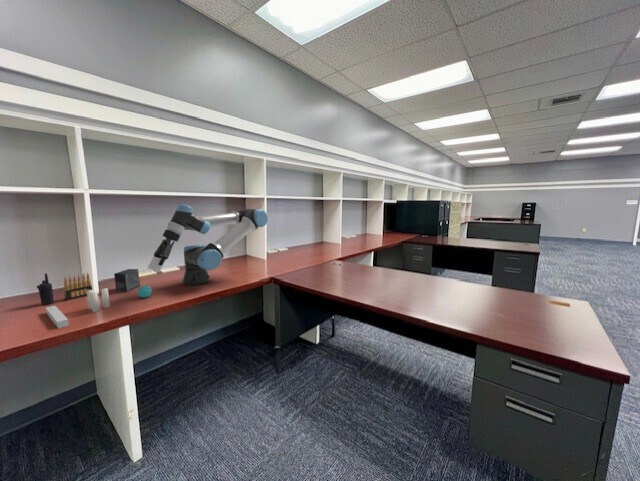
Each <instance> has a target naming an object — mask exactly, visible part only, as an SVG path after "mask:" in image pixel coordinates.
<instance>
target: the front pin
mask: <svg viewBox="0 0 640 481" xmlns="http://www.w3.org/2000/svg"><path fill="white" fill-rule="evenodd" d="M100 292H101V302H102V308H103V309H105V308H109V307H111V306H110V296H109V288H106V287H105V288H102V289H100Z"/></svg>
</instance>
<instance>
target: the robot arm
mask: <svg viewBox="0 0 640 481" xmlns="http://www.w3.org/2000/svg"><path fill="white" fill-rule="evenodd" d="M194 210H195V209H194V208H193V207H191V206H189V205H188V204H185V203H182V204H181V203H180V204H179V205H178V206H177V208H176V209H175V211H174V213H173V215H172V217H171V220H170V221H169V222H167V226H166V229H165V230H164V232H163V234H162V236H163V237H164V238H165V239H162V241H161V243H160V244H159V246H158V247H157V249H156V250H155V252H154V253H153V257H152V259H151V260H150V262H149V264H148V266H147V269H149V270H152V271H153V272H155V273H160V271H161V270H162V267H163V266H164V264H165V263H166V261H167V260H168V259H169V256H170V255H171V251H172V249H173V247H174V245H175V242H179V240H180V237H181V235H183V232H184V231H192V232H193V231H194V232H198V233H199V234H202V235H206V234H208V232H209V231H210V229H211V228H213V227H221V226H229V225H234V227H232V228H231V229H230V230H228V231H227V232H226V233H224V234H223V235H222V236H221V237H219V238H218V239H217V240H216V241H215V242H210V243H208V244H206V245H205V244H195V245H186V246H184V248H183V258H184V261H183V262H184V274H183V276H182V277H183V278H182V284H183V285H184V286H199V285H205V284H207V283H209V282H210V281H211V280H210V279H211V277H210V275H209V272H208V271H212V270H215V269H217V268H218V267H219V266H220V265H221V263H222V260H223V259H224V258H225V253H227V252H228V251H229V250H230V249H231V248H233V247H234V246H235V245H236V244H237V243H239V241H241V240H242V239H243V238H245V237H246V236H247V235H248V234H249V233H251V232H255V231H256V230H257V229H258V228H263V227H265V226H266V225H267V223H268V219H269V217H268V215H267V214H268V213H267V212H266V210H264V209H261V208H244V209H239V210H233V211H231V212H227V213H218V214H217V213H215V214H206V215H196V214H194Z"/></svg>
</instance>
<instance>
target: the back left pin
mask: <svg viewBox="0 0 640 481" xmlns="http://www.w3.org/2000/svg"><path fill="white" fill-rule="evenodd" d="M90 298H91V307H92V309H91V312H92V313H98V312H99V311H100V304H99V298H98V292H97V291H94V292H92V293H90Z"/></svg>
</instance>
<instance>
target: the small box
mask: <svg viewBox="0 0 640 481" xmlns="http://www.w3.org/2000/svg"><path fill="white" fill-rule="evenodd" d="M113 276H114V284H115V292H116V291H123V292H122V293H127V291H128V292H129V290H130V291H132V290H134V288H135V289H136V287H137V288H139V287H141V284H140V274H139V268H128V269H125V270H122V271H118V272H116V273H113ZM138 286H139V287H138Z"/></svg>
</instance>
